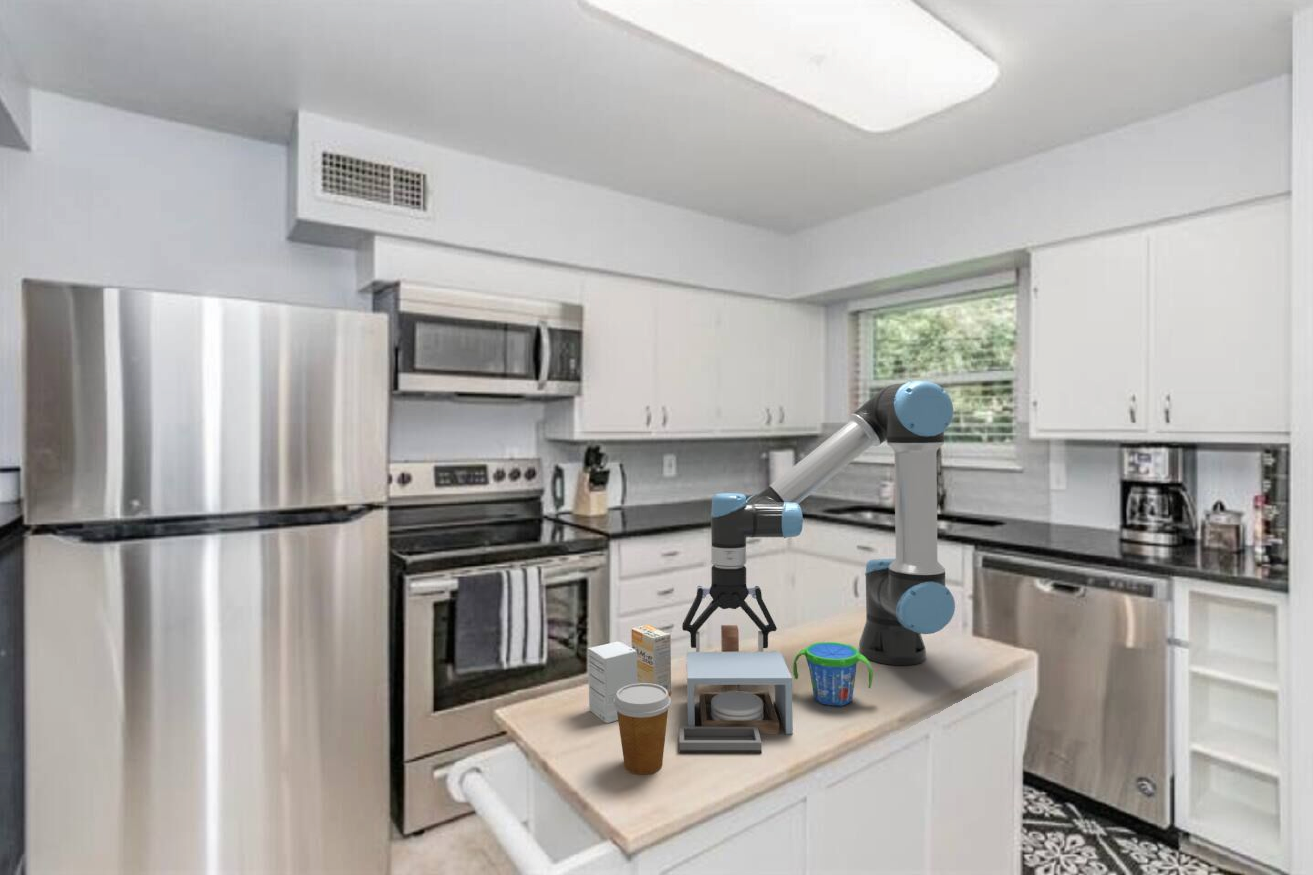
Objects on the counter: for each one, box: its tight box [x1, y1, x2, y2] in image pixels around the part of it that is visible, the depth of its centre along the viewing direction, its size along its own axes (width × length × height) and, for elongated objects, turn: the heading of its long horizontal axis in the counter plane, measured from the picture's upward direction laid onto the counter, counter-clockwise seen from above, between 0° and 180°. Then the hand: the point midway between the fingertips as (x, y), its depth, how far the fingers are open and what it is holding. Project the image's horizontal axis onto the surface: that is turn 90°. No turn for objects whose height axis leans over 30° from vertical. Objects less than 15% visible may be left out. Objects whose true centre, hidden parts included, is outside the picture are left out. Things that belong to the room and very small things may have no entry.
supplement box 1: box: [587, 641, 638, 724], centre depth 131 cm, size 7×7×13 cm
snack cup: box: [792, 641, 874, 707], centre depth 135 cm, size 16×10×10 cm
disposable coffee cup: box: [614, 683, 672, 775], centre depth 110 cm, size 10×10×12 cm
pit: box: [678, 726, 763, 754], centre depth 117 cm, size 14×6×2 cm, turn 88°
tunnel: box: [686, 651, 794, 735], centre depth 128 cm, size 19×14×10 cm
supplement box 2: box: [630, 624, 672, 696], centre depth 140 cm, size 8×5×13 cm, turn 37°
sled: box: [698, 624, 780, 735], centre depth 134 cm, size 14×26×12 cm, turn 178°
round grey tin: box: [710, 690, 764, 721], centre depth 128 cm, size 10×10×4 cm
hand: (729, 662), depth 145 cm, fingers open, 13 cm apart
